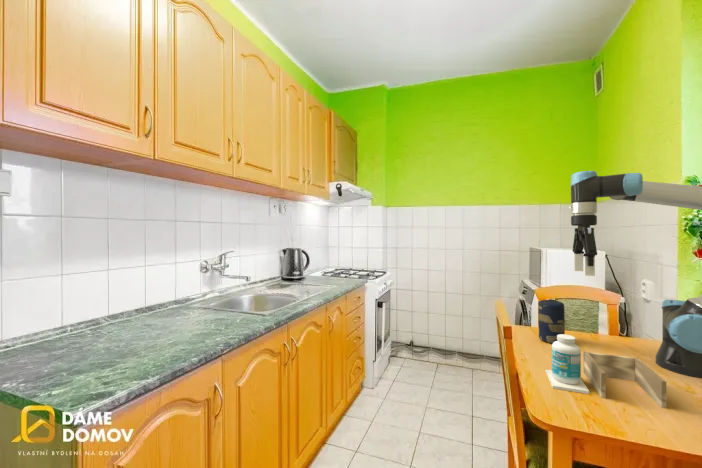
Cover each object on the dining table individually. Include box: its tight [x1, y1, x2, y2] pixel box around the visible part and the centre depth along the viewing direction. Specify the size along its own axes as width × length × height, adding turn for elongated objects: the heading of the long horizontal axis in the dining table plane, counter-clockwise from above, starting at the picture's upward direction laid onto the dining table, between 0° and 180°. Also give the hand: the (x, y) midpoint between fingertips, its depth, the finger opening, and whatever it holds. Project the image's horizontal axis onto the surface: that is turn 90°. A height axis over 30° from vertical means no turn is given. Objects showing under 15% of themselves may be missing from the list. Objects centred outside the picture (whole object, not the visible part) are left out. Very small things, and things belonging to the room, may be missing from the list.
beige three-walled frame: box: [583, 351, 667, 409], centre depth 93 cm, size 14×17×7 cm
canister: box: [537, 298, 566, 344], centre depth 134 cm, size 10×10×18 cm
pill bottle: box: [551, 334, 582, 384], centre depth 97 cm, size 8×7×14 cm
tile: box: [545, 369, 590, 395], centre depth 98 cm, size 9×12×1 cm
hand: (583, 273), depth 114 cm, fingers open, 13 cm apart
